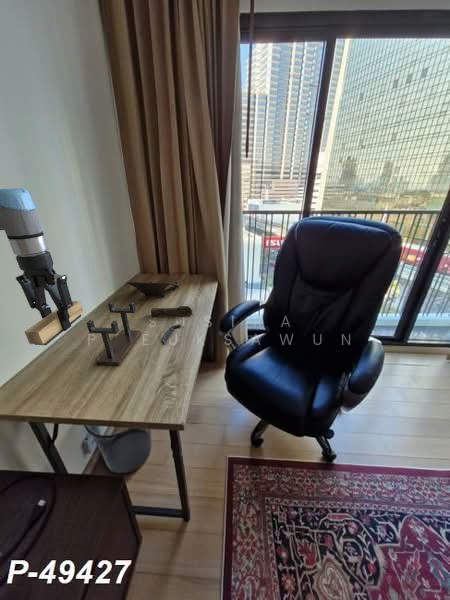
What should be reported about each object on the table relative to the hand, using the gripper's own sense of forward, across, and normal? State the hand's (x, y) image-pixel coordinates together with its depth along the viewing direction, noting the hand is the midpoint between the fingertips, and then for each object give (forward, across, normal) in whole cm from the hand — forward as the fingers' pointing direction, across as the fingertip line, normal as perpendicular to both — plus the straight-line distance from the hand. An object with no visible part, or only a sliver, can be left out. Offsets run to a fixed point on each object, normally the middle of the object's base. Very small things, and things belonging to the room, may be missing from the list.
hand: (59, 328), depth 76 cm
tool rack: (+18, -8, -15) cm, 25 cm away
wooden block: (0, 0, 0) cm, 0 cm away
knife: (+18, -25, -25) cm, 40 cm away
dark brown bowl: (+18, -6, -65) cm, 68 cm away
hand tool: (+18, -21, -41) cm, 50 cm away
